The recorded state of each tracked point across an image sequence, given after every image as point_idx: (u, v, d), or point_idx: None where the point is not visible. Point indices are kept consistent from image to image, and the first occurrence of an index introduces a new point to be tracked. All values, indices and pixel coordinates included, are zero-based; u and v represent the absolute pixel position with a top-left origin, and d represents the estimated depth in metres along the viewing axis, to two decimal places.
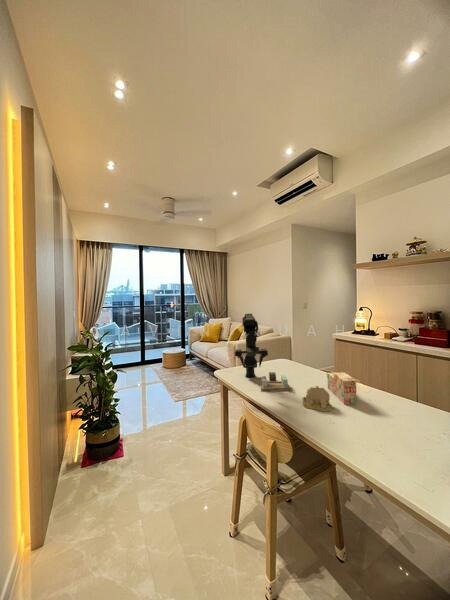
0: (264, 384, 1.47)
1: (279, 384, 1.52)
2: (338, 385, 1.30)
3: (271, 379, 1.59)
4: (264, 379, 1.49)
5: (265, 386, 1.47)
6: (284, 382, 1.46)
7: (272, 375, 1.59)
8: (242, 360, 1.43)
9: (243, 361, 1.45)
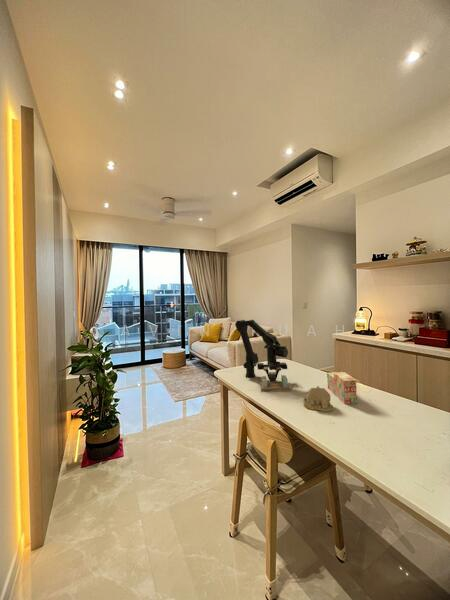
0: (264, 384, 1.47)
1: (279, 384, 1.52)
2: (338, 385, 1.31)
3: (271, 379, 1.59)
4: (264, 379, 1.49)
5: (265, 386, 1.47)
6: (284, 382, 1.46)
7: (272, 375, 1.59)
8: (268, 373, 1.60)
9: (268, 373, 1.62)
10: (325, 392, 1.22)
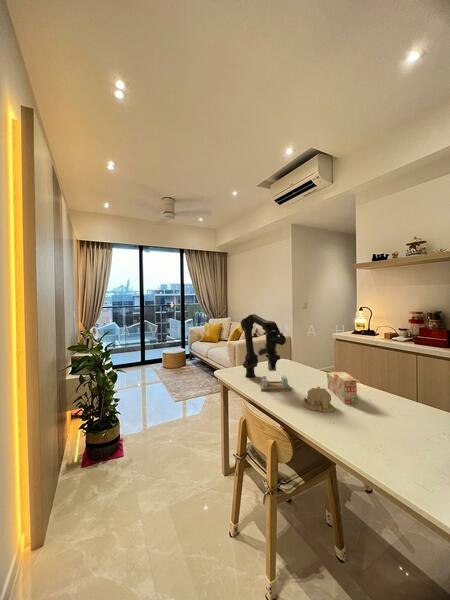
0: (264, 384, 1.47)
1: (279, 384, 1.52)
2: (338, 385, 1.31)
3: (268, 367, 1.52)
4: (264, 379, 1.49)
5: (265, 386, 1.47)
6: (284, 382, 1.46)
7: (268, 363, 1.51)
8: (268, 359, 1.54)
9: None
10: (326, 392, 1.21)
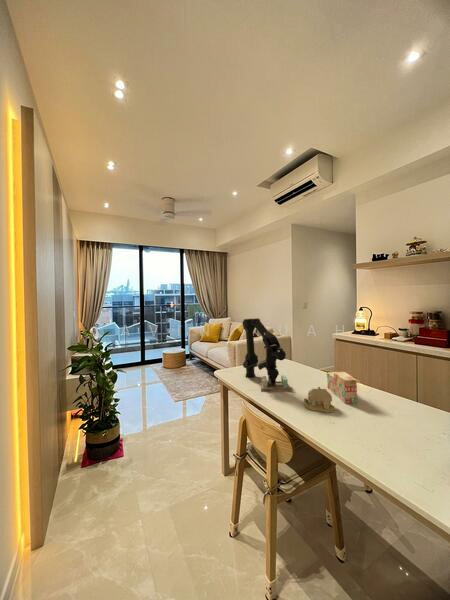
0: (264, 384, 1.47)
1: (279, 384, 1.52)
2: (338, 384, 1.31)
3: (268, 382, 1.51)
4: (264, 379, 1.49)
5: (265, 386, 1.47)
6: (284, 382, 1.46)
7: (268, 378, 1.51)
8: None
9: None
10: (326, 393, 1.21)
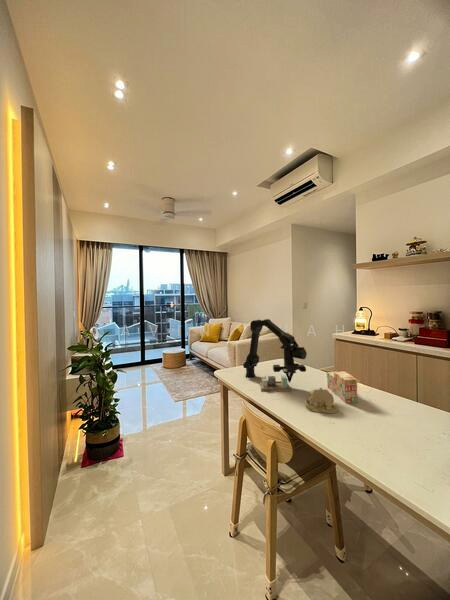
0: (264, 384, 1.47)
1: (279, 384, 1.52)
2: (339, 384, 1.32)
3: (268, 382, 1.51)
4: (264, 379, 1.49)
5: (265, 386, 1.47)
6: (284, 382, 1.46)
7: (268, 378, 1.51)
8: (288, 375, 1.48)
9: None
10: (328, 393, 1.20)
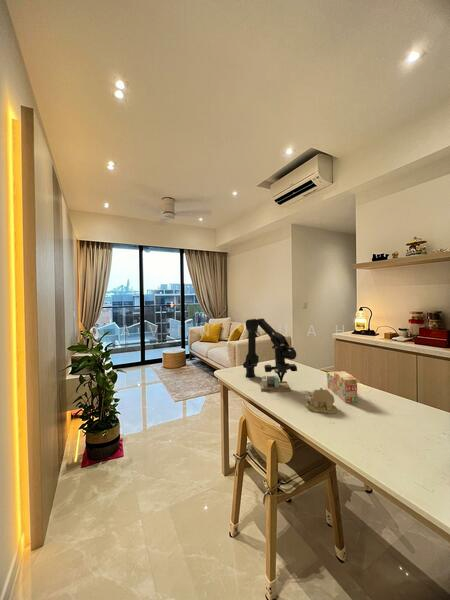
0: (264, 384, 1.47)
1: (279, 384, 1.52)
2: (339, 384, 1.32)
3: (267, 382, 1.51)
4: (264, 379, 1.49)
5: (265, 386, 1.47)
6: (275, 382, 1.46)
7: (267, 378, 1.51)
8: (279, 375, 1.49)
9: None
10: (329, 393, 1.20)
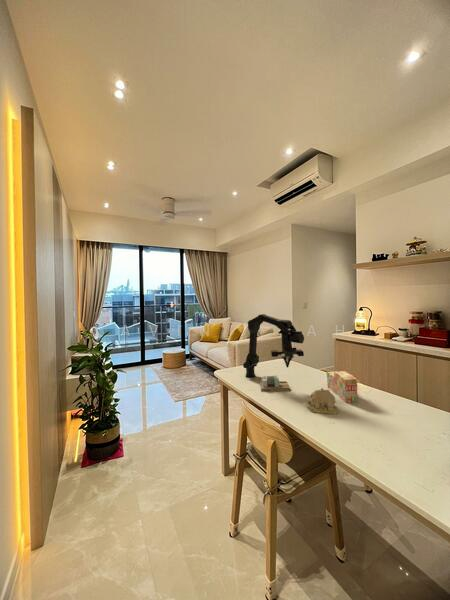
0: (264, 384, 1.47)
1: (279, 384, 1.52)
2: (339, 384, 1.32)
3: (267, 382, 1.51)
4: (264, 379, 1.49)
5: (265, 386, 1.47)
6: (275, 382, 1.46)
7: (267, 378, 1.51)
8: (286, 360, 1.48)
9: None
10: (329, 394, 1.19)
